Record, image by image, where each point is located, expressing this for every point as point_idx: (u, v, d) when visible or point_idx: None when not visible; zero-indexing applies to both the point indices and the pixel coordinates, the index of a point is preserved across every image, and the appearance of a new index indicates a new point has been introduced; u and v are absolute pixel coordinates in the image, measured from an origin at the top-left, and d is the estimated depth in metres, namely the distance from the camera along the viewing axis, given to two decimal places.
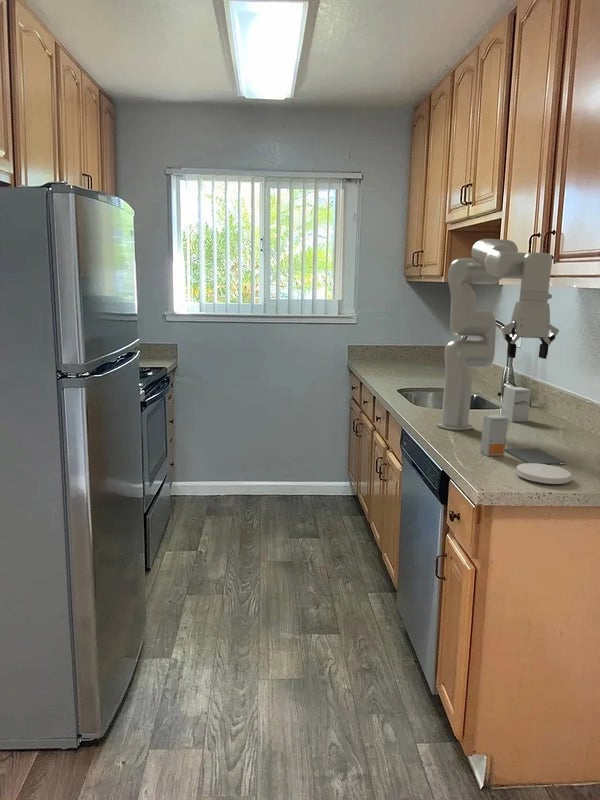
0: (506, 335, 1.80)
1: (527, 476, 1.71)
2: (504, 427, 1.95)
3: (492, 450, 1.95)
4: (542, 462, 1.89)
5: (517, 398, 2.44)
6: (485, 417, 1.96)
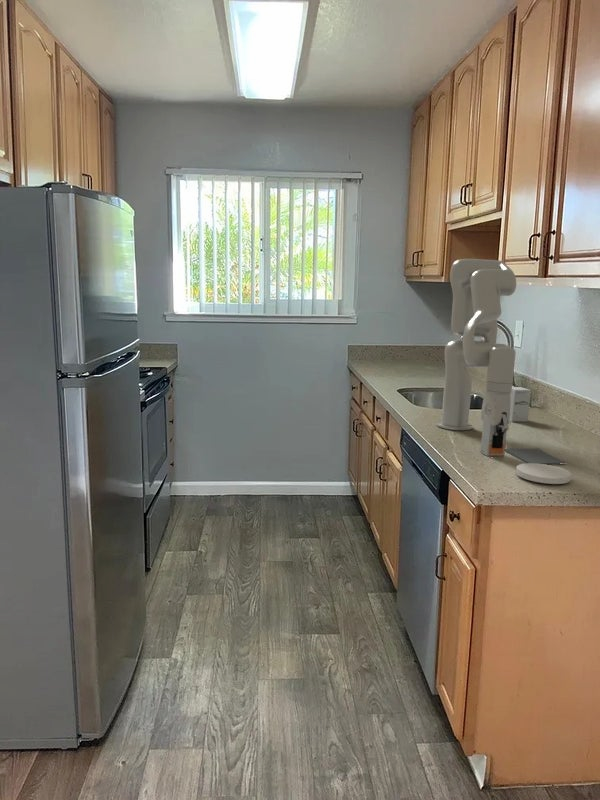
0: None
1: (527, 476, 1.71)
2: None
3: (492, 450, 1.95)
4: (542, 462, 1.89)
5: (517, 398, 2.44)
6: (485, 417, 1.96)
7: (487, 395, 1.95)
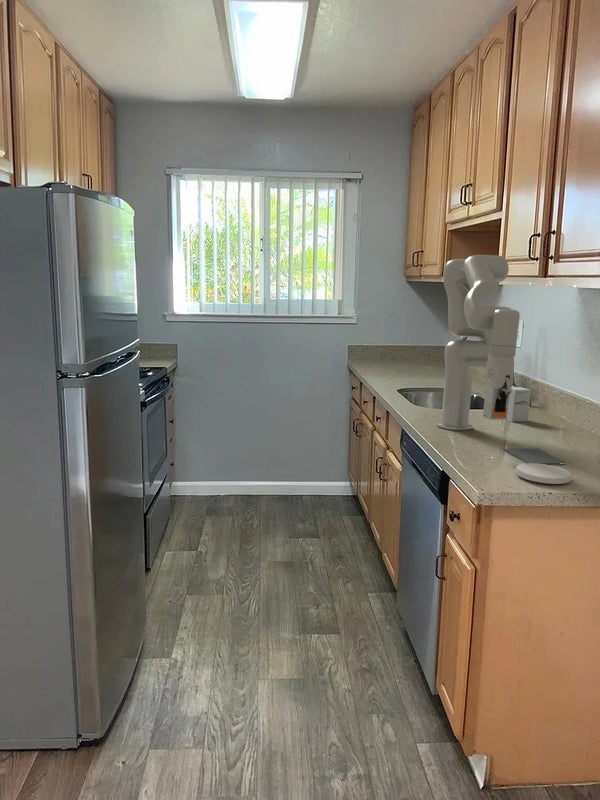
0: None
1: (527, 476, 1.71)
2: None
3: (495, 414, 1.94)
4: (542, 462, 1.89)
5: (517, 398, 2.44)
6: (488, 381, 1.94)
7: (490, 358, 1.93)
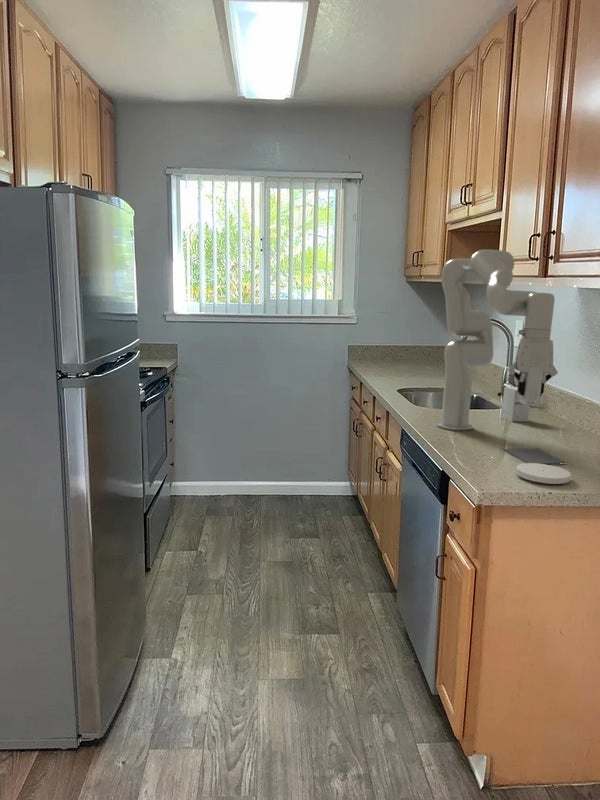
0: None
1: (527, 476, 1.71)
2: None
3: None
4: (542, 462, 1.89)
5: (517, 398, 2.44)
6: (533, 367, 1.89)
7: (532, 344, 1.88)
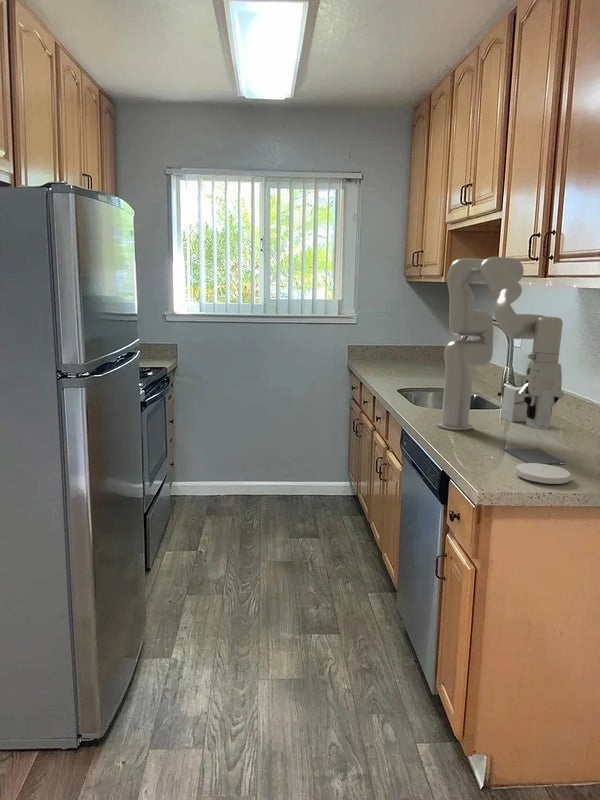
0: None
1: (526, 476, 1.71)
2: None
3: None
4: (542, 462, 1.89)
5: (517, 398, 2.44)
6: (544, 391, 1.89)
7: (543, 368, 1.88)
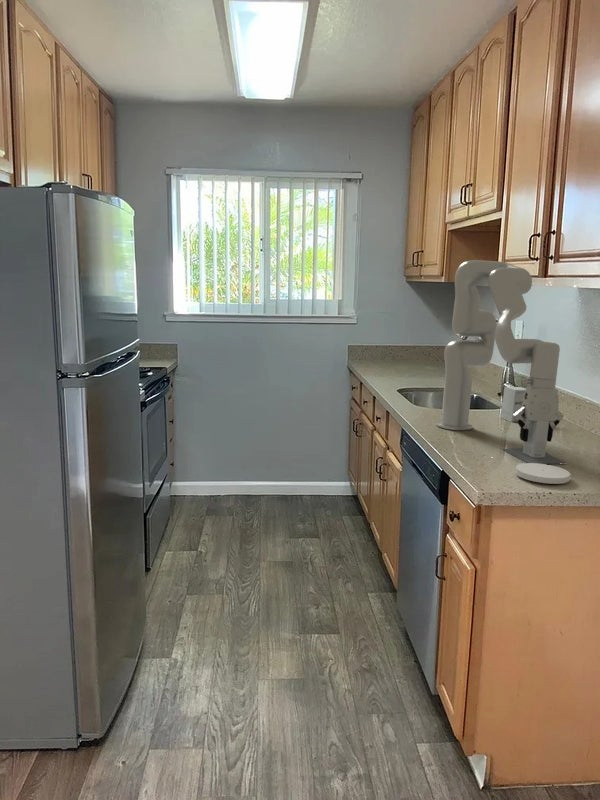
0: None
1: (526, 476, 1.71)
2: None
3: None
4: (542, 462, 1.89)
5: (517, 398, 2.44)
6: (540, 421, 1.91)
7: (540, 394, 1.90)
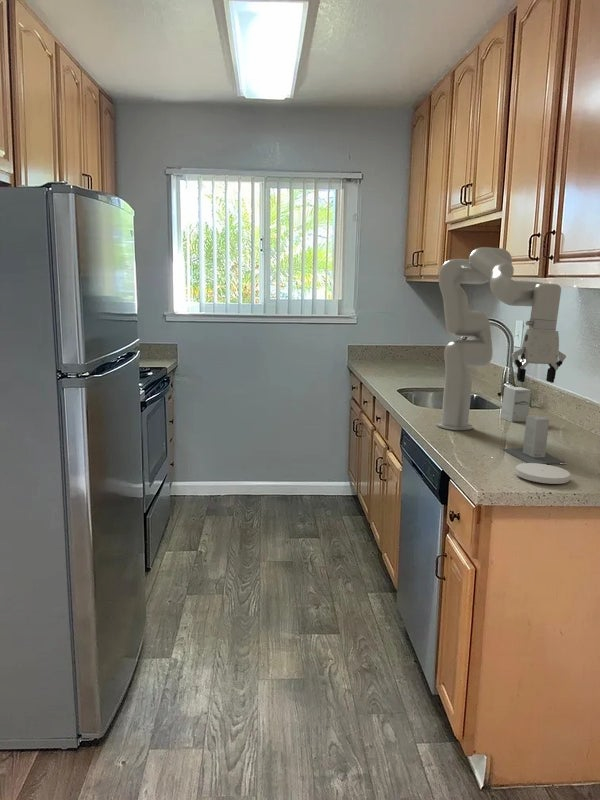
0: None
1: (526, 476, 1.71)
2: None
3: None
4: (542, 462, 1.89)
5: (517, 398, 2.44)
6: (540, 421, 1.91)
7: (541, 335, 1.89)
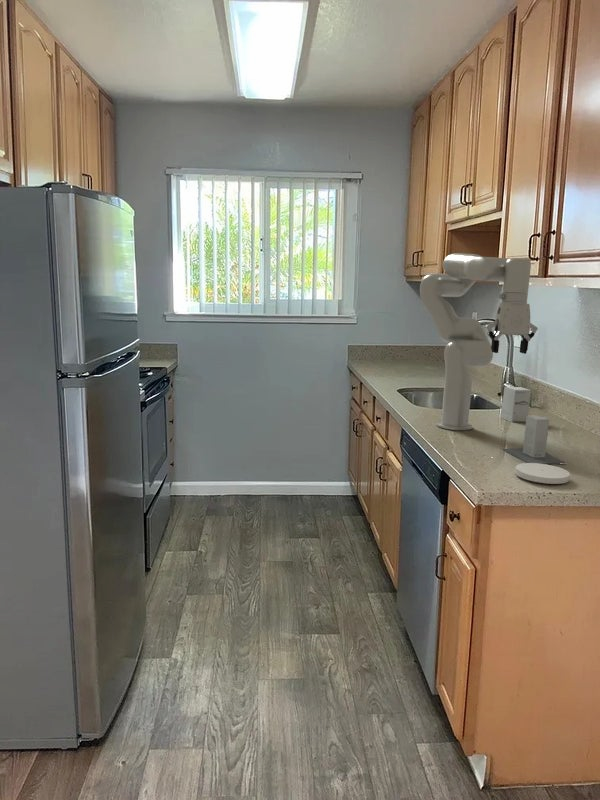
0: None
1: (526, 476, 1.71)
2: None
3: None
4: (542, 462, 1.89)
5: (517, 398, 2.44)
6: (540, 421, 1.91)
7: (512, 307, 1.98)
